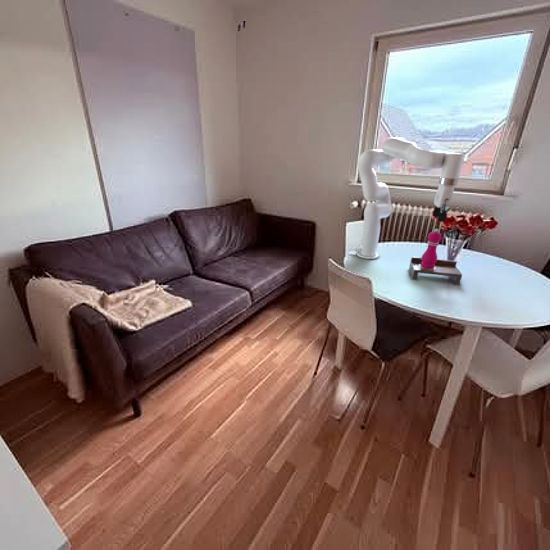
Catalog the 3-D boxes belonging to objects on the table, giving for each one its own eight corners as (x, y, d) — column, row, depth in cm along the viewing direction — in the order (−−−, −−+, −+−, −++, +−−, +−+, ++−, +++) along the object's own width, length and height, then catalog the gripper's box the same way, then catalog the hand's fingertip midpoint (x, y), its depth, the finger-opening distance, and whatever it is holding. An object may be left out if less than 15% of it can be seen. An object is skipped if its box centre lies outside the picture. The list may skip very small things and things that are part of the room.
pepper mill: (418, 267, 158) (427, 229, 150) (421, 262, 164) (430, 226, 155) (433, 270, 155) (443, 231, 146) (436, 266, 160) (445, 228, 152)
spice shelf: (412, 279, 158) (415, 265, 155) (408, 270, 169) (411, 256, 165) (459, 284, 154) (463, 270, 150) (452, 275, 164) (456, 261, 161)
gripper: (435, 178, 150) (426, 213, 157) (444, 184, 135) (434, 222, 142) (451, 179, 149) (442, 215, 156) (463, 185, 133) (451, 224, 141)
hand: (438, 218), depth 149 cm, fingers open, 9 cm apart
